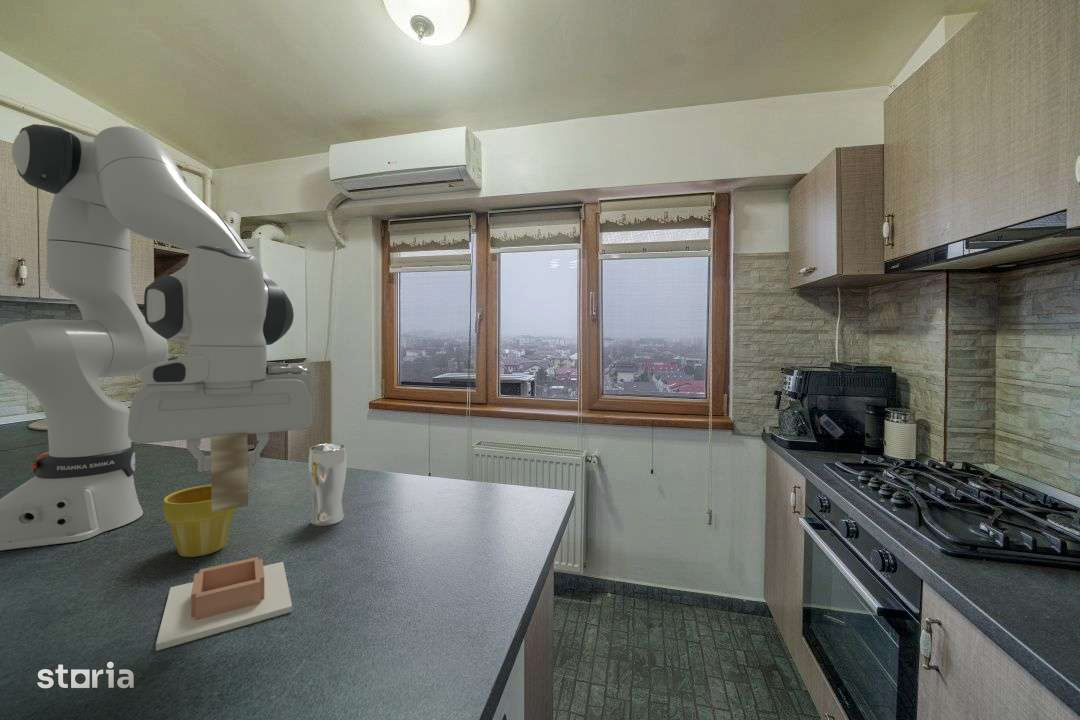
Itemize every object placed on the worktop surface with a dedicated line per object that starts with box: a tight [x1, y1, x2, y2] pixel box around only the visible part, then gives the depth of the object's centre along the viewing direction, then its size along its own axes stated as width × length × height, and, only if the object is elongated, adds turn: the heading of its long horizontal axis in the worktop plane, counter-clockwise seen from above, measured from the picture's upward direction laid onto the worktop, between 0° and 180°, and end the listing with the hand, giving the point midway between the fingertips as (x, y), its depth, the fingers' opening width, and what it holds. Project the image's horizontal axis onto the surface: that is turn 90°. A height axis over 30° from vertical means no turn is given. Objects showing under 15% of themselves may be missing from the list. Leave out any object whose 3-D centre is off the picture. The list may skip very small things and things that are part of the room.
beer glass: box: [307, 442, 348, 527], centre depth 89 cm, size 7×7×15 cm
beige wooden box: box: [210, 433, 249, 512], centre depth 60 cm, size 4×4×10 cm
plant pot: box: [162, 484, 238, 558], centre depth 76 cm, size 10×10×10 cm
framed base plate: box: [155, 556, 293, 651], centre depth 61 cm, size 14×14×4 cm
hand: (229, 467), depth 60 cm, fingers closed on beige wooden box, 4 cm apart
